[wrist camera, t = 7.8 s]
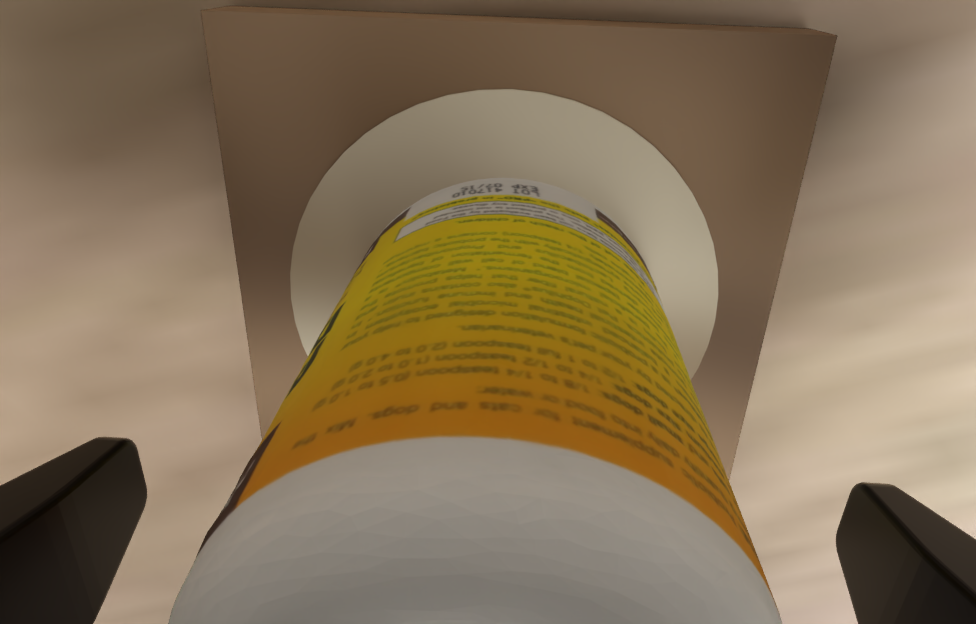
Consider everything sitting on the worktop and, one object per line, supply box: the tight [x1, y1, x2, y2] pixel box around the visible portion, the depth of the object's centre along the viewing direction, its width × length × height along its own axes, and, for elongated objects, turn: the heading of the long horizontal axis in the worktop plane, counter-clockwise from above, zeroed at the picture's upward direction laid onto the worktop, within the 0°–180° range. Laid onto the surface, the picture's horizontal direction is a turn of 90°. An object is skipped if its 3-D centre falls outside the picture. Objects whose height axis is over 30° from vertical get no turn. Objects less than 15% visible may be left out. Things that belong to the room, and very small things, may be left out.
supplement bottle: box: [168, 178, 782, 624], centre depth 9 cm, size 6×6×10 cm
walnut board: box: [201, 6, 837, 480], centre depth 14 cm, size 10×10×1 cm
